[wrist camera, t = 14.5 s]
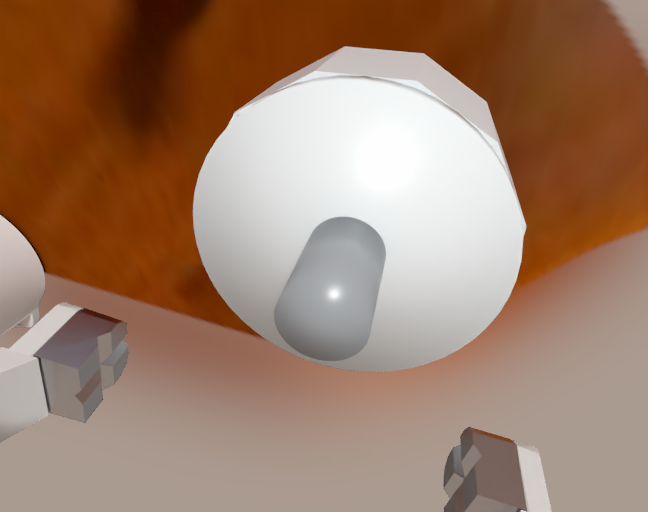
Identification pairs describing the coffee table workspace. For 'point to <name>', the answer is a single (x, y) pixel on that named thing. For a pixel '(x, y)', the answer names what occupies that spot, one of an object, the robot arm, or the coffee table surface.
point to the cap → (362, 213)
